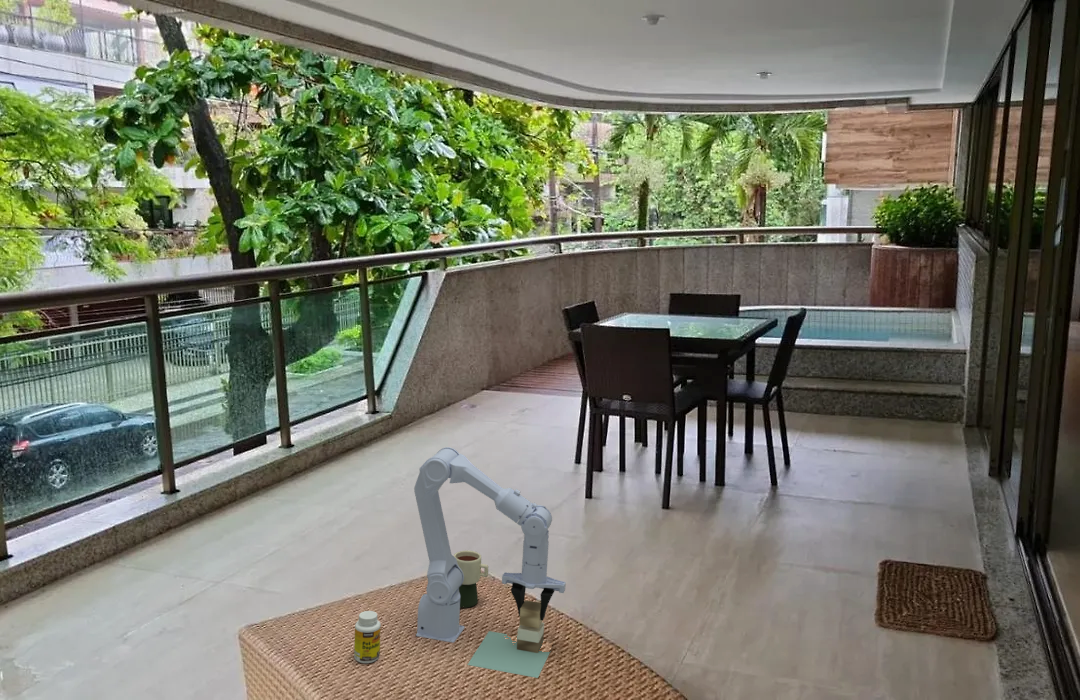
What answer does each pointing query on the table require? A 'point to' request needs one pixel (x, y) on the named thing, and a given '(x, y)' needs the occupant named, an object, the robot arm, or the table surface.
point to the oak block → (530, 614)
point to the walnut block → (529, 645)
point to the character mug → (470, 576)
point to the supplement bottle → (367, 637)
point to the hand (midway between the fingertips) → (531, 616)
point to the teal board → (507, 656)
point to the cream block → (530, 633)
